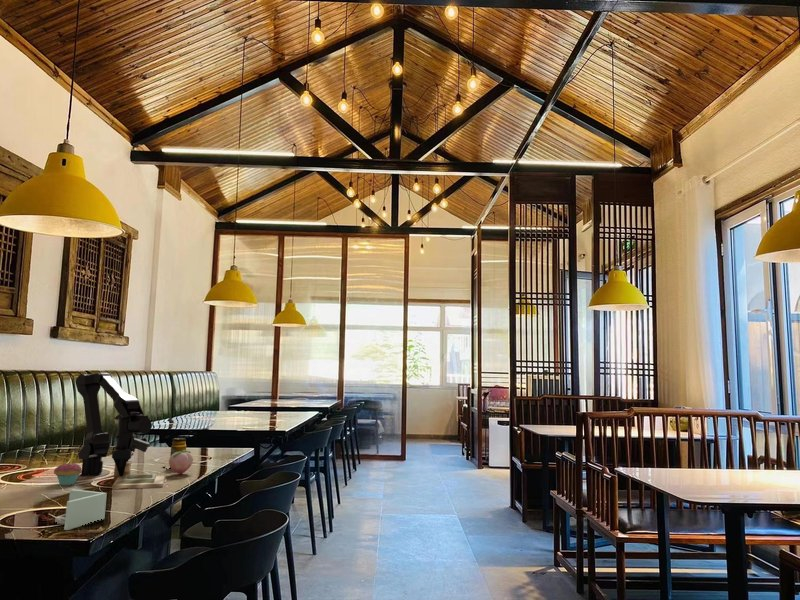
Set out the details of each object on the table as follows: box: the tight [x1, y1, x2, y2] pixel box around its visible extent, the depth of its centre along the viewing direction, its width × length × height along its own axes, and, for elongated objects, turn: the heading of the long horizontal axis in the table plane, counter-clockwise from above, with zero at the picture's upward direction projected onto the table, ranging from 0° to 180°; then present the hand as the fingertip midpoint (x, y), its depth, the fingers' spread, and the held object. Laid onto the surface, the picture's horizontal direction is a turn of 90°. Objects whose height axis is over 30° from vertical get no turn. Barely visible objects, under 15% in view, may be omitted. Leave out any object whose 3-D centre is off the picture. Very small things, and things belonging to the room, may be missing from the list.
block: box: [113, 460, 132, 481], centre depth 210 cm, size 5×5×6 cm
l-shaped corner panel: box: [54, 488, 108, 531], centre depth 150 cm, size 12×12×8 cm
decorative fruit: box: [168, 449, 194, 475], centre depth 221 cm, size 9×8×10 cm
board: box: [111, 473, 166, 490], centre depth 202 cm, size 16×16×2 cm
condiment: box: [162, 437, 187, 468], centre depth 237 cm, size 7×8×12 cm
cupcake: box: [53, 449, 82, 486], centre depth 199 cm, size 9×8×12 cm
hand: (122, 474), depth 209 cm, fingers closed on block, 5 cm apart
